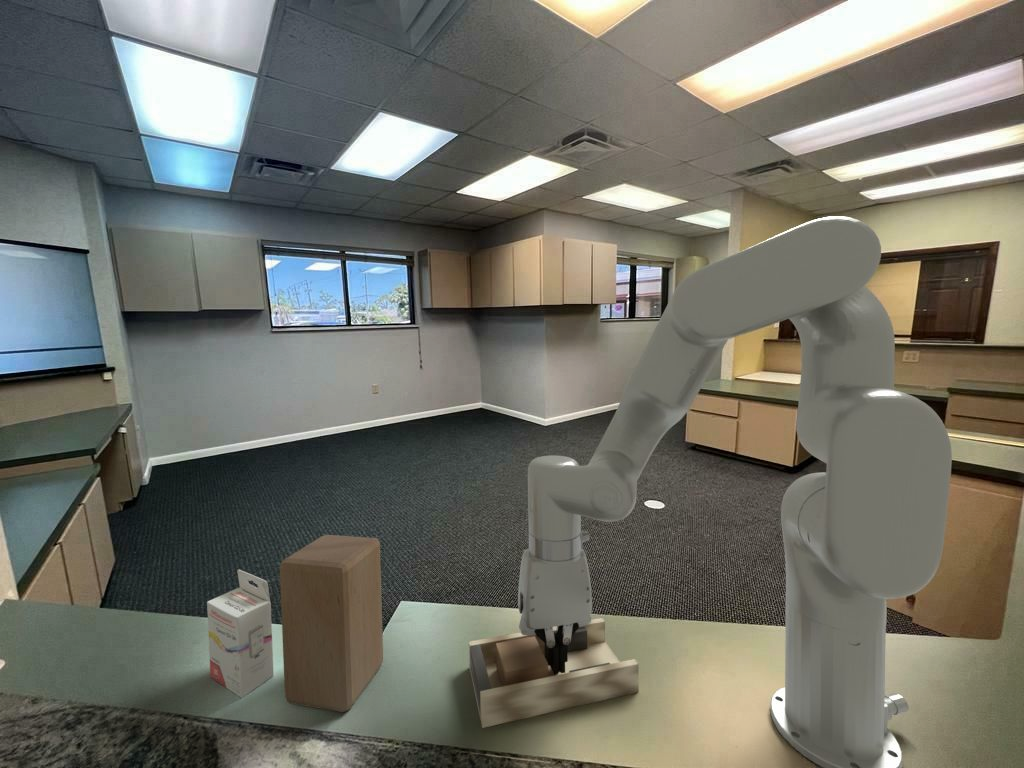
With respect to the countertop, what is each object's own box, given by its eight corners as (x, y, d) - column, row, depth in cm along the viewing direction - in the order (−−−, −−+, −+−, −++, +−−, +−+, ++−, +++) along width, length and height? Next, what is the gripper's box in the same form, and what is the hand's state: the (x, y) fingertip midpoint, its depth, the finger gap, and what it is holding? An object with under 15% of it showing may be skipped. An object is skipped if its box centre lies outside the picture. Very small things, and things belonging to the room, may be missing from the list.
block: (348, 716, 54) (342, 566, 53) (281, 705, 56) (275, 560, 55) (386, 663, 64) (382, 535, 63) (328, 655, 66) (324, 531, 65)
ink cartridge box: (207, 678, 61) (203, 581, 61) (242, 658, 66) (238, 567, 65) (240, 700, 57) (236, 596, 57) (275, 676, 62) (271, 579, 61)
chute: (602, 641, 68) (602, 617, 68) (638, 691, 57) (638, 663, 57) (469, 667, 63) (468, 641, 63) (482, 728, 52) (481, 697, 52)
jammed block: (535, 662, 63) (534, 636, 63) (548, 691, 57) (547, 663, 57) (496, 669, 61) (495, 643, 61) (505, 701, 55) (505, 672, 55)
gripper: (591, 528, 65) (592, 641, 66) (498, 538, 62) (500, 659, 62) (614, 547, 58) (615, 675, 59) (510, 561, 54) (512, 697, 55)
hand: (556, 666), depth 60 cm, fingers closed
